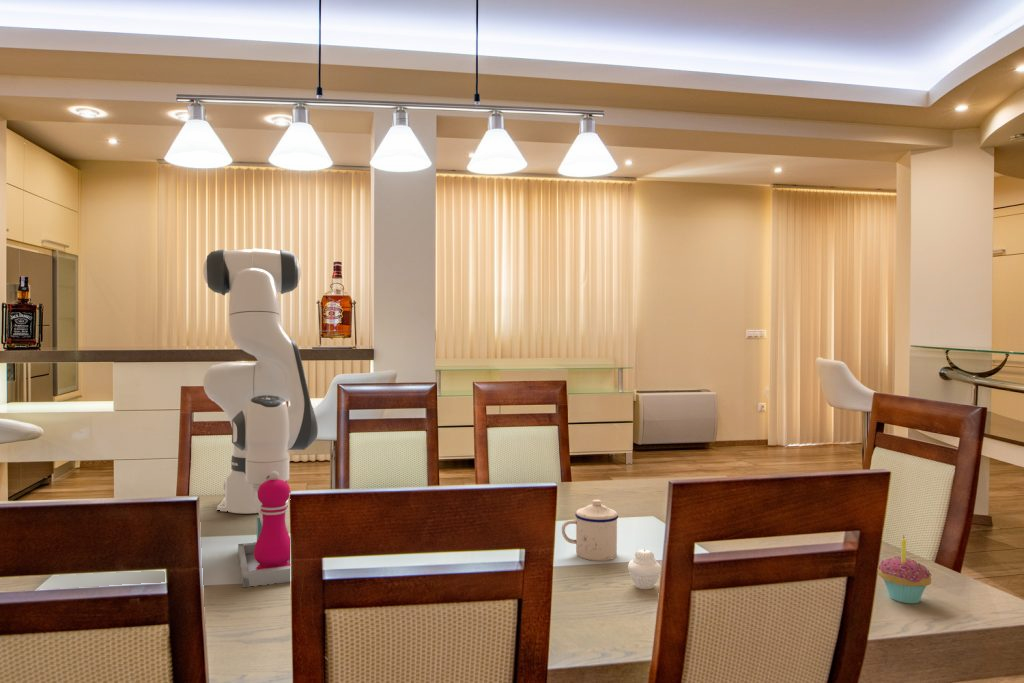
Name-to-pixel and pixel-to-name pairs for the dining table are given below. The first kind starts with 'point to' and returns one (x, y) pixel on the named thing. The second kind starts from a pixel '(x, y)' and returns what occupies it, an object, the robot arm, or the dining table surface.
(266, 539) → the pepper mill
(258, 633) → the dining table surface
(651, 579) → the small white lidded pot
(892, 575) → the cupcake
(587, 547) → the teacup with lid
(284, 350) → the robot arm
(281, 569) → the grey rectangular frame
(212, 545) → the dining table surface
